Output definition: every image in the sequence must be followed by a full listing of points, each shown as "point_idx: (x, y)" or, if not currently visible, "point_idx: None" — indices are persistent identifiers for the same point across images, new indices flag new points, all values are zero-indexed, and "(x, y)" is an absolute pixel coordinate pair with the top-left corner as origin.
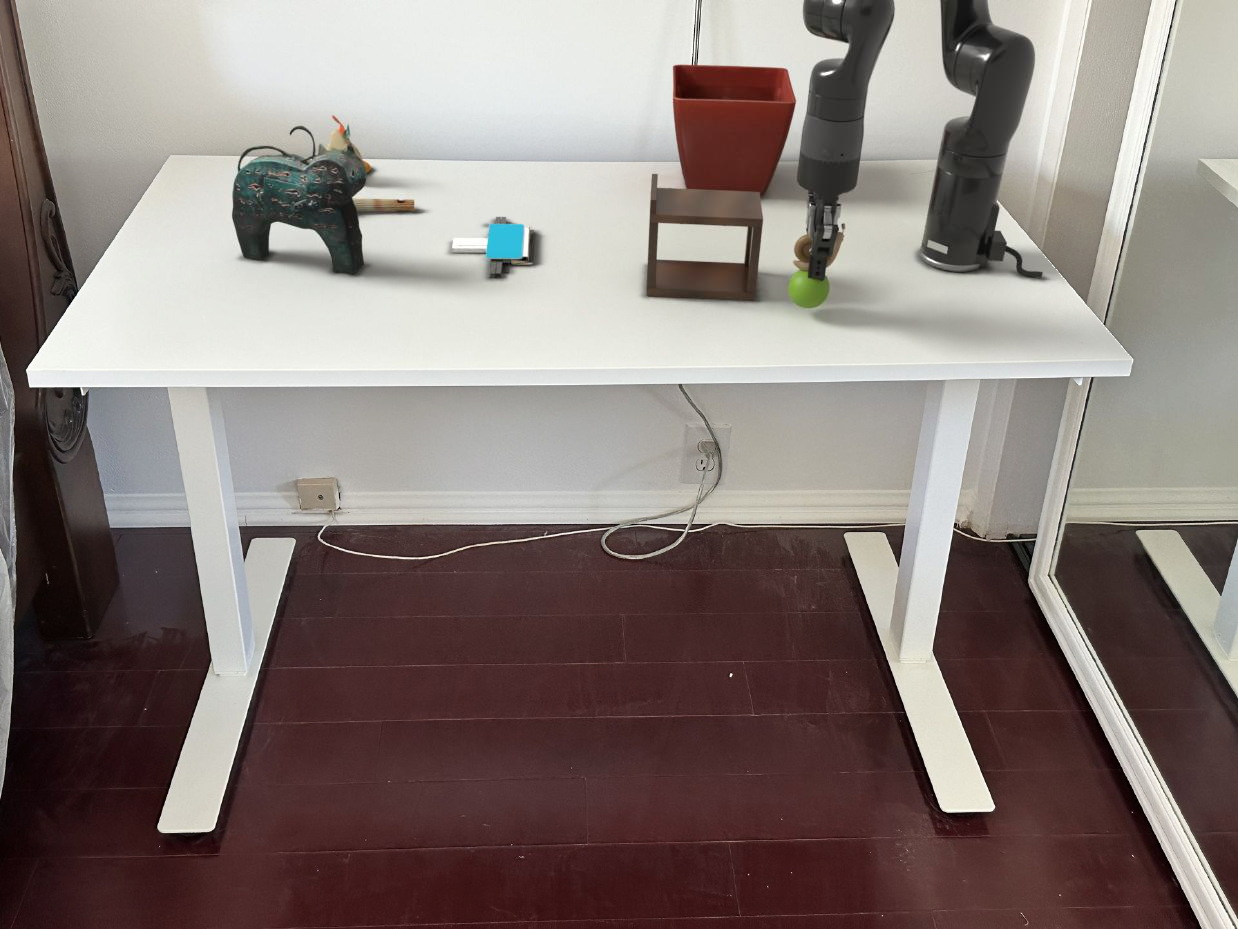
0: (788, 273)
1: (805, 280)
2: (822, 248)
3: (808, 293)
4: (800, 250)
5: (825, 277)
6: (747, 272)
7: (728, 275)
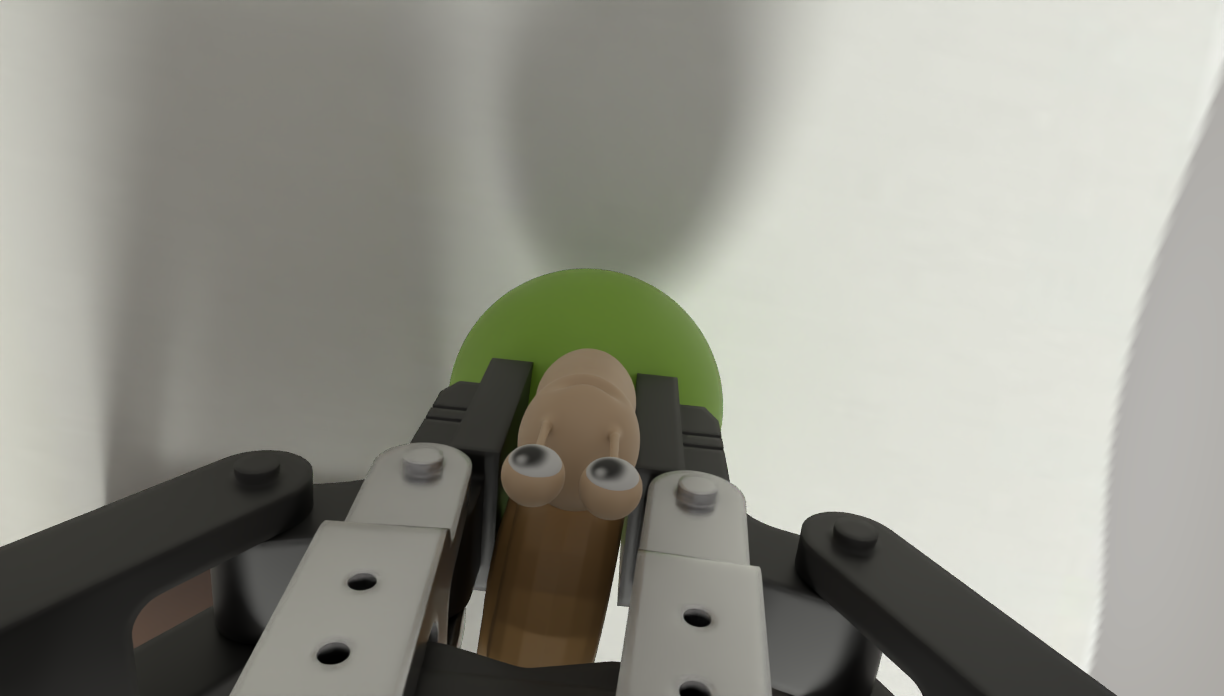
0: (89, 332)
1: None
2: (862, 659)
3: None
4: None
5: (613, 348)
6: (196, 579)
7: None
